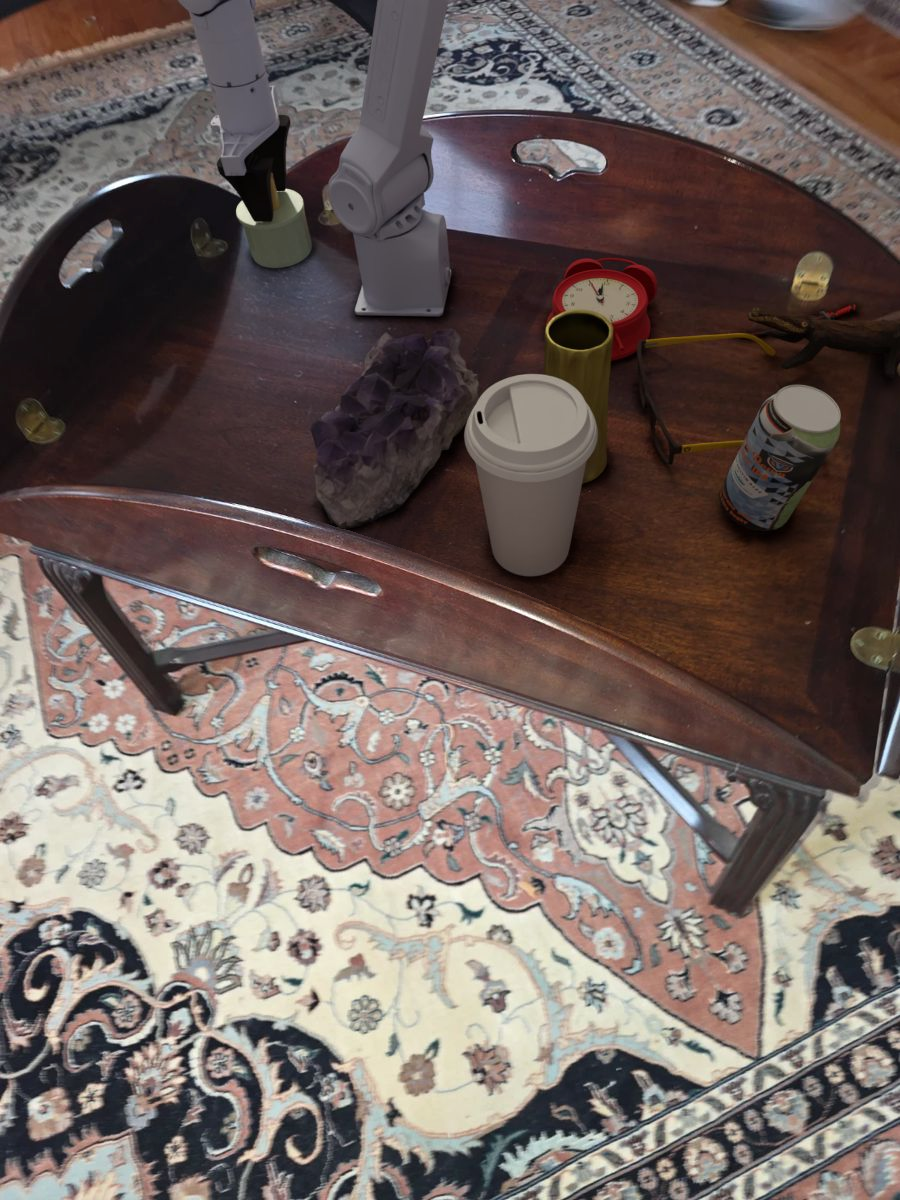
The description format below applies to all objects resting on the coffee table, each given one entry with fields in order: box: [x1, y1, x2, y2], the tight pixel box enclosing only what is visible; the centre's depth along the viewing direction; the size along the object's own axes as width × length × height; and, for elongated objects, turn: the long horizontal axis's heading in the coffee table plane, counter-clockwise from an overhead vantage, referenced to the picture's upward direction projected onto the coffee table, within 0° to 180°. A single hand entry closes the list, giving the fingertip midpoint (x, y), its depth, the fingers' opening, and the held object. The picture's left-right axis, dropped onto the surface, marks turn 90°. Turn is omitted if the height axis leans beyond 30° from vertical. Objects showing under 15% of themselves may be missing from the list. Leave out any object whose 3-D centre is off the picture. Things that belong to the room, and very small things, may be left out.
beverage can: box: [718, 384, 842, 532], centre depth 69 cm, size 6×7×12 cm
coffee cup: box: [463, 373, 598, 577], centre depth 67 cm, size 10×10×15 cm
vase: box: [543, 309, 613, 485], centre depth 73 cm, size 6×6×14 cm
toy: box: [747, 307, 900, 379], centre depth 82 cm, size 23×7×5 cm, turn 87°
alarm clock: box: [545, 257, 659, 362], centre depth 88 cm, size 10×6×15 cm
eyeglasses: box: [636, 332, 777, 466], centre depth 79 cm, size 14×14×4 cm
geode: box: [309, 328, 480, 530], centre depth 77 cm, size 20×12×10 cm, turn 155°
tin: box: [242, 209, 313, 269], centre depth 100 cm, size 7×7×5 cm
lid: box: [235, 172, 305, 230], centre depth 96 cm, size 8×8×5 cm
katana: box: [746, 303, 857, 337], centre depth 87 cm, size 13×2×1 cm, turn 103°
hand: (270, 204), depth 97 cm, fingers open, 5 cm apart
